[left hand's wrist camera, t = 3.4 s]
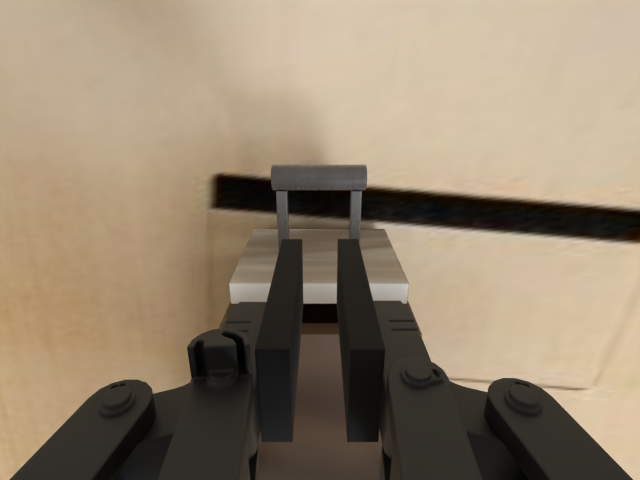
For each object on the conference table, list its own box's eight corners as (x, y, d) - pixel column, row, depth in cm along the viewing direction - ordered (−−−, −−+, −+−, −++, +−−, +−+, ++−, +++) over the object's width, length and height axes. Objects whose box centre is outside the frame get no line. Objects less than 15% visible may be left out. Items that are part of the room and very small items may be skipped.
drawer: (248, 153, 25) (218, 181, 17) (389, 153, 25) (419, 181, 17) (266, 417, 33) (250, 513, 26) (372, 417, 33) (387, 513, 26)
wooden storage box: (249, 253, 28) (215, 334, 19) (388, 253, 28) (422, 334, 19) (262, 439, 35) (242, 565, 26) (375, 439, 35) (395, 565, 26)
